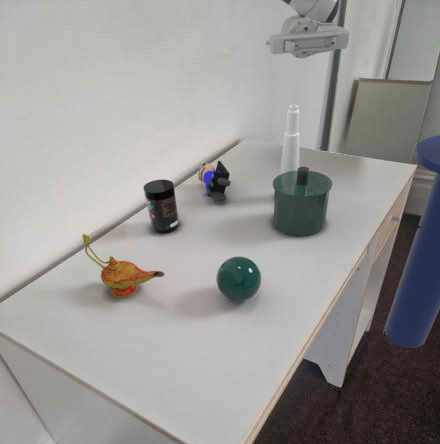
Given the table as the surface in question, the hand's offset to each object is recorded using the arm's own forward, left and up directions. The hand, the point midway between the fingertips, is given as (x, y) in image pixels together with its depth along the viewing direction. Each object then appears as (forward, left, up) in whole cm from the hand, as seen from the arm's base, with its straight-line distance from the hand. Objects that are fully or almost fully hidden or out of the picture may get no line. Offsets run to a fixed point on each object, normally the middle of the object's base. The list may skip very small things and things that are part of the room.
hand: (314, 46), depth 91 cm
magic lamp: (+57, +39, -30) cm, 75 cm away
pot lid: (+16, +29, -20) cm, 39 cm away
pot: (+16, +29, -30) cm, 45 cm away
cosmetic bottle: (+13, +17, -30) cm, 37 cm away
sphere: (+38, +48, -30) cm, 68 cm away
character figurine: (+30, +6, -30) cm, 43 cm away
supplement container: (+46, +18, -30) cm, 58 cm away
